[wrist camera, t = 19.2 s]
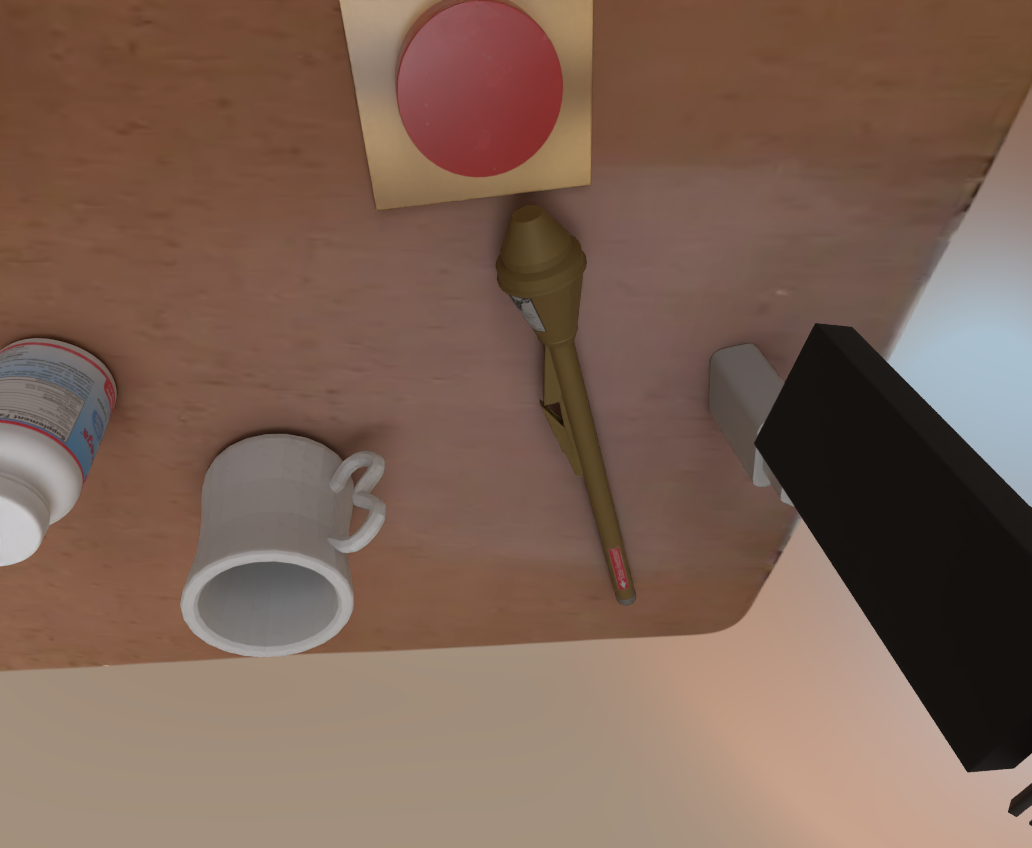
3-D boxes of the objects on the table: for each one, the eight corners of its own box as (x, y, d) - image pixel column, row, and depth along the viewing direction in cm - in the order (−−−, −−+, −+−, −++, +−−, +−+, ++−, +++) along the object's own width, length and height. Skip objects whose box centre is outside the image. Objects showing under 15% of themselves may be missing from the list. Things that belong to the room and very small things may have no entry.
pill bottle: (93, 440, 43) (31, 594, 35) (-25, 394, 40) (-126, 552, 32) (138, 366, 41) (83, 513, 32) (15, 312, 38) (-82, 458, 29)
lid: (583, 107, 36) (592, 118, 35) (456, 194, 38) (460, 208, 36) (500, -47, 31) (507, -41, 30) (360, 60, 33) (360, 70, 32)
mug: (274, 551, 51) (262, 679, 44) (171, 475, 46) (137, 607, 38) (423, 465, 49) (438, 585, 41) (333, 374, 43) (331, 493, 36)
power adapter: (758, 341, 47) (857, 467, 38) (752, 406, 51) (841, 537, 42) (710, 351, 47) (798, 480, 38) (708, 416, 51) (788, 549, 42)
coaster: (330, -49, 31) (330, -47, 30) (591, -71, 32) (594, -70, 31) (376, 207, 38) (376, 210, 37) (588, 182, 39) (590, 185, 38)
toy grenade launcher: (648, 566, 62) (592, 578, 62) (567, 179, 38) (477, 204, 39) (662, 615, 58) (602, 628, 59) (581, 224, 35) (483, 251, 35)
